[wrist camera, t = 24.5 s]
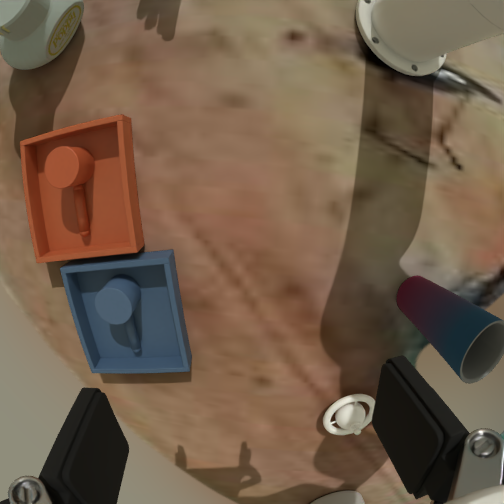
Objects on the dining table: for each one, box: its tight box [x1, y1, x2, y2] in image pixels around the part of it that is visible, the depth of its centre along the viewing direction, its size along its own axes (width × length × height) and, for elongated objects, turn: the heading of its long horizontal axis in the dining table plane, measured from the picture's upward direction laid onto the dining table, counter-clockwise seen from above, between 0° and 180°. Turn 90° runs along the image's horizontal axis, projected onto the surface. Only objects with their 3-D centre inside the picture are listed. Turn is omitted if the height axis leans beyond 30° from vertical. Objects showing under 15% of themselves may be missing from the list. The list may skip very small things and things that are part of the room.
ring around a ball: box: [323, 394, 375, 435], centre depth 38 cm, size 8×6×8 cm
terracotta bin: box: [20, 114, 144, 263], centre depth 28 cm, size 13×12×3 cm
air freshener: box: [0, 0, 84, 70], centre depth 19 cm, size 11×8×10 cm
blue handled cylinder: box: [95, 274, 141, 353], centre depth 31 cm, size 9×4×4 cm, turn 4°
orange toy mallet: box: [45, 146, 95, 237], centre depth 27 cm, size 9×4×4 cm, turn 4°
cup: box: [397, 276, 504, 383], centre depth 29 cm, size 7×7×15 cm
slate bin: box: [60, 250, 192, 373], centre depth 32 cm, size 13×12×3 cm
